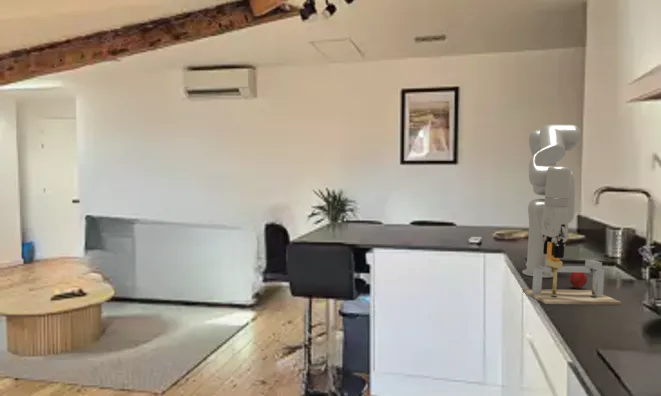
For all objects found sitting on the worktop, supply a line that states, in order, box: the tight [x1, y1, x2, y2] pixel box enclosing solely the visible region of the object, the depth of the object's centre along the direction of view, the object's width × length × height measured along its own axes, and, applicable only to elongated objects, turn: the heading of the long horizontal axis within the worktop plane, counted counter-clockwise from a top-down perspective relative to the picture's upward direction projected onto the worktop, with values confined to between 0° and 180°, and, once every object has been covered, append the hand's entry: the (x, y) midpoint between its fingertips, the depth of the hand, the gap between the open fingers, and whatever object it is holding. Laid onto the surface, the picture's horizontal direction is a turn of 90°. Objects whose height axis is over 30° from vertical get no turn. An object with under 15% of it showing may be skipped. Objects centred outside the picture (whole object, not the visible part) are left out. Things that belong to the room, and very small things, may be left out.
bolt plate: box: [522, 288, 622, 306], centre depth 180 cm, size 16×26×1 cm, turn 95°
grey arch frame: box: [531, 259, 606, 297], centre depth 178 cm, size 5×24×12 cm, turn 95°
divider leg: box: [546, 241, 563, 294], centre depth 178 cm, size 5×3×17 cm, turn 5°
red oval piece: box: [569, 272, 588, 290], centre depth 195 cm, size 6×6×8 cm
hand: (553, 255), depth 178 cm, fingers open, 6 cm apart
